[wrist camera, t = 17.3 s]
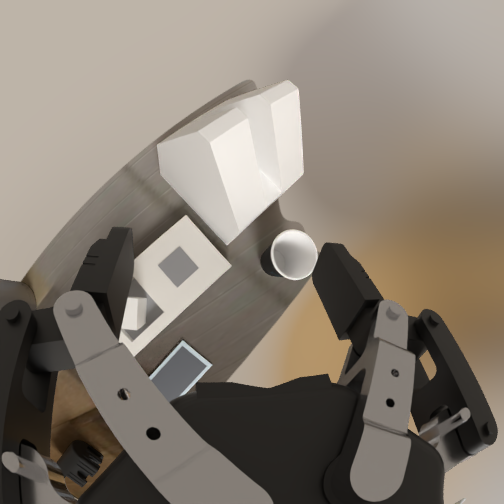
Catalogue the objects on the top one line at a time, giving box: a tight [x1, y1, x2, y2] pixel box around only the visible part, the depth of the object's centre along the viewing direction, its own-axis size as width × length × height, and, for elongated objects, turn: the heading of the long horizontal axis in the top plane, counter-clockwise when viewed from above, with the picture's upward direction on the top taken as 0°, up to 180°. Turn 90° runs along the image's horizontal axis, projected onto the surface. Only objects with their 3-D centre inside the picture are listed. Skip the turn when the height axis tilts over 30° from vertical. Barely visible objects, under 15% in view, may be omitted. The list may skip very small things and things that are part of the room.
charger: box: [121, 296, 147, 330], centre depth 39 cm, size 5×4×10 cm
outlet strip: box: [118, 215, 231, 357], centre depth 45 cm, size 24×12×3 cm, turn 134°
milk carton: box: [157, 80, 304, 245], centre depth 40 cm, size 19×15×25 cm
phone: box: [149, 340, 212, 402], centre depth 44 cm, size 14×7×1 cm, turn 139°
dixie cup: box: [261, 229, 317, 280], centre depth 47 cm, size 8×8×11 cm
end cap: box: [57, 440, 103, 487], centre depth 32 cm, size 10×7×7 cm
